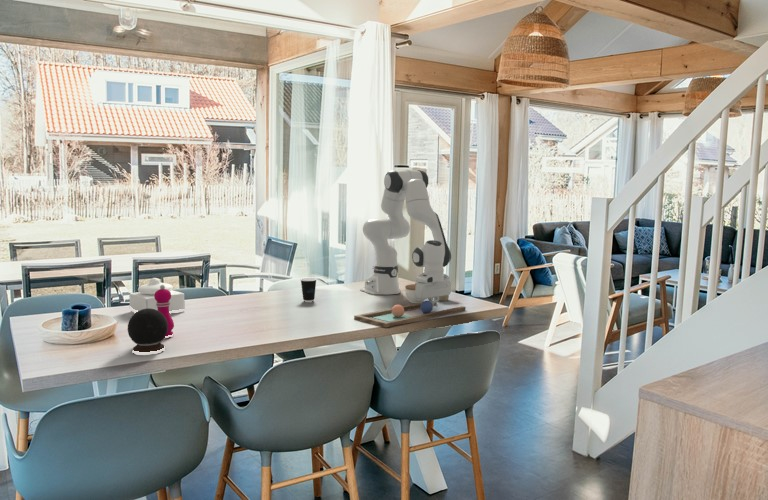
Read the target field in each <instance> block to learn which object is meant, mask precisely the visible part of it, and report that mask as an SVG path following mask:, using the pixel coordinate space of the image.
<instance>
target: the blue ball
mask: <svg viewBox="0 0 768 500" xmlns="http://www.w3.org/2000/svg"><path fill="white" fill-rule="evenodd" d="M433 308H434V307H433V305H432V303H431V302H430V301H429V300H424V301H423V302H422V303H421V306H420V308H419V309H420V310H421V311H422V312H423V314H427V313H432V311H433Z"/></svg>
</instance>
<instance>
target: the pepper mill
mask: <svg viewBox="0 0 768 500" xmlns="http://www.w3.org/2000/svg"><path fill="white" fill-rule="evenodd" d="M154 298H155V300H156V301H157V302H156V306H157V308H158V311H159V312H161V313H162V314H163V315H164V316H165V318H166V320H167V323H168V331H167V334H166V336H168V335H172V334H173V335H174V332H173V331H172V330H173V329H174V328H175V323H174V320H173V318H172V316H171V314H170V313H169V306H170V301H169V300H170V299H171V293H170V291H169V290H167V289H165V286H164V285H161V286H160V290H157V291H156V292H155V295H154Z"/></svg>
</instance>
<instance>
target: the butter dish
mask: <svg viewBox="0 0 768 500" xmlns="http://www.w3.org/2000/svg"><path fill="white" fill-rule="evenodd" d="M161 285H164V286H165V289H167V290H169V291H170V293H171V299H170V300H169V301H170V306H169V311H172V310H179V309H185V310H186V306H185V303H186V302H185V293H183V292H181V291H176V290H173V289H174V286H173V285H172V284H170V283H166V282H161V280H160V279H159V278H157V277H152V278H151V279H149V282H148V283H145V284H142V285H140V286H138V288H137V291H138V292H137V291H135V292H131V293H129V297H128V298H129V307H130V306H131V307H132V308H133V309H135V310H138V311H140V310H142V309H147V308H149V309H155V310H157V311H158V308H157V306H156V302H157V301H156V300H155V298H154V295H155V292H156V291H157V290H160V286H161Z"/></svg>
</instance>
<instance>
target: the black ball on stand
mask: <svg viewBox="0 0 768 500" xmlns="http://www.w3.org/2000/svg"><path fill="white" fill-rule="evenodd" d="M167 331H168V323H167V320H166V318H165V316H164V315H163V314H162V313H161V312H159V311H157V310H155V309H149V308H147V309H142V310H140V311H138V312H136V313H135V314H134V313H133V315H132V316H131V317H130V318H129V320H128V323H127V334H128V336H129V338H130V339H131V341H132V342H133V343H134V344H136V345H135V346H133V347H132V349H133V350H134V351H139V352H150V351H157V350H160V349H162V348H164V346H165V345H164V343H162V341H163V340H165V339H164V338H165V336H166V334H167Z"/></svg>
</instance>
